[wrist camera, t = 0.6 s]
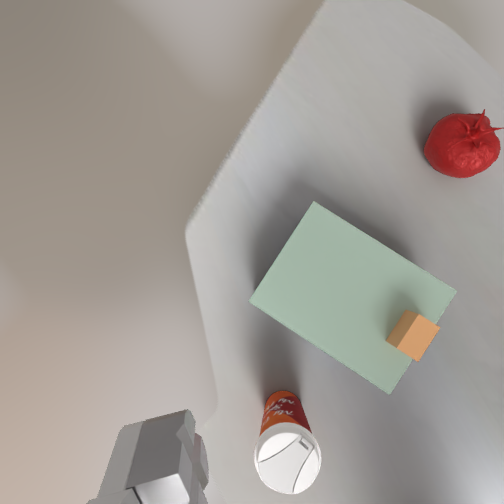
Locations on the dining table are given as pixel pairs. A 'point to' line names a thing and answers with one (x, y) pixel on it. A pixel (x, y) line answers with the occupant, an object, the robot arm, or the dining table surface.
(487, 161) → the red tomato
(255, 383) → the dining table surface
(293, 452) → the coffee cup
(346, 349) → the lid
